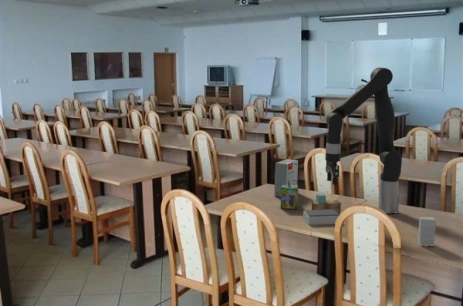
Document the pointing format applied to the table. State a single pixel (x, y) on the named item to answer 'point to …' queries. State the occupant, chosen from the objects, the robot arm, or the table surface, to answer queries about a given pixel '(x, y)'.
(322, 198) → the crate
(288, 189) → the chalk box
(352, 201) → the table surface
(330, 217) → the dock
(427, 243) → the skincare box
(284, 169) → the hard drive box
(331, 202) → the brown wooden block
